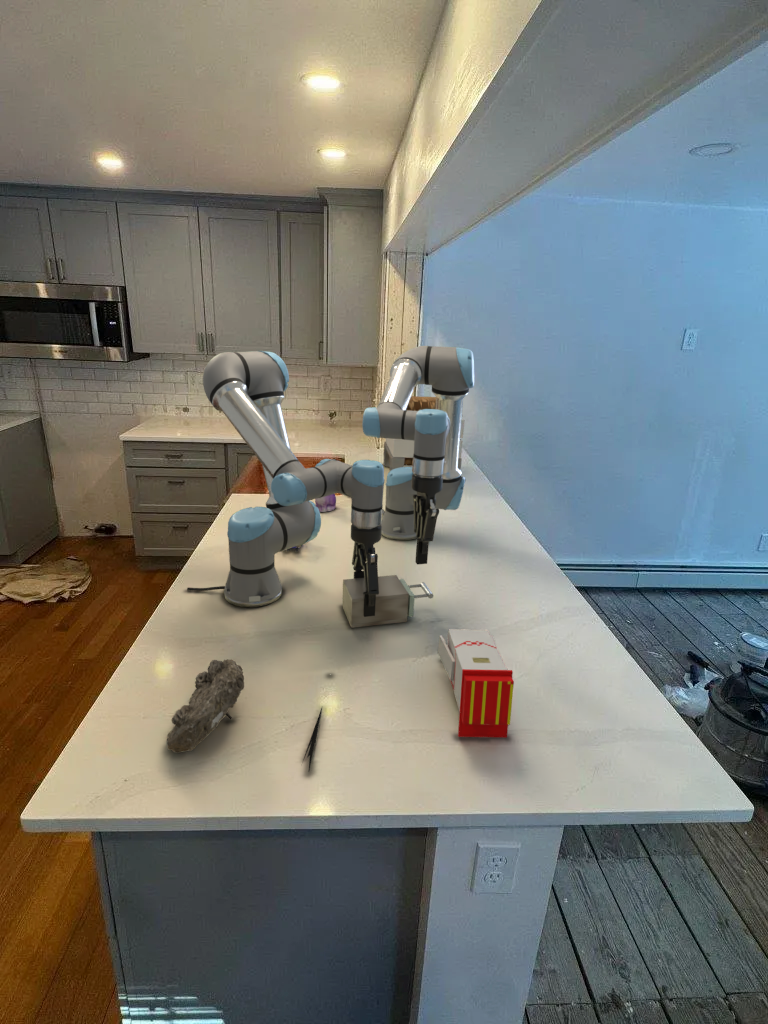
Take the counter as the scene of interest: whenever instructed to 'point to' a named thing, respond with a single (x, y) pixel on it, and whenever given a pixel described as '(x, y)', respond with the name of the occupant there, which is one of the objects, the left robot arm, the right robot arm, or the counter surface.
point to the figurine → (326, 503)
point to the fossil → (206, 705)
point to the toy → (478, 682)
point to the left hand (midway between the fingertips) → (363, 604)
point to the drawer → (412, 596)
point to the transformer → (403, 450)
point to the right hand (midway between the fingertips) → (421, 562)
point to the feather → (313, 740)
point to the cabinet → (387, 605)
